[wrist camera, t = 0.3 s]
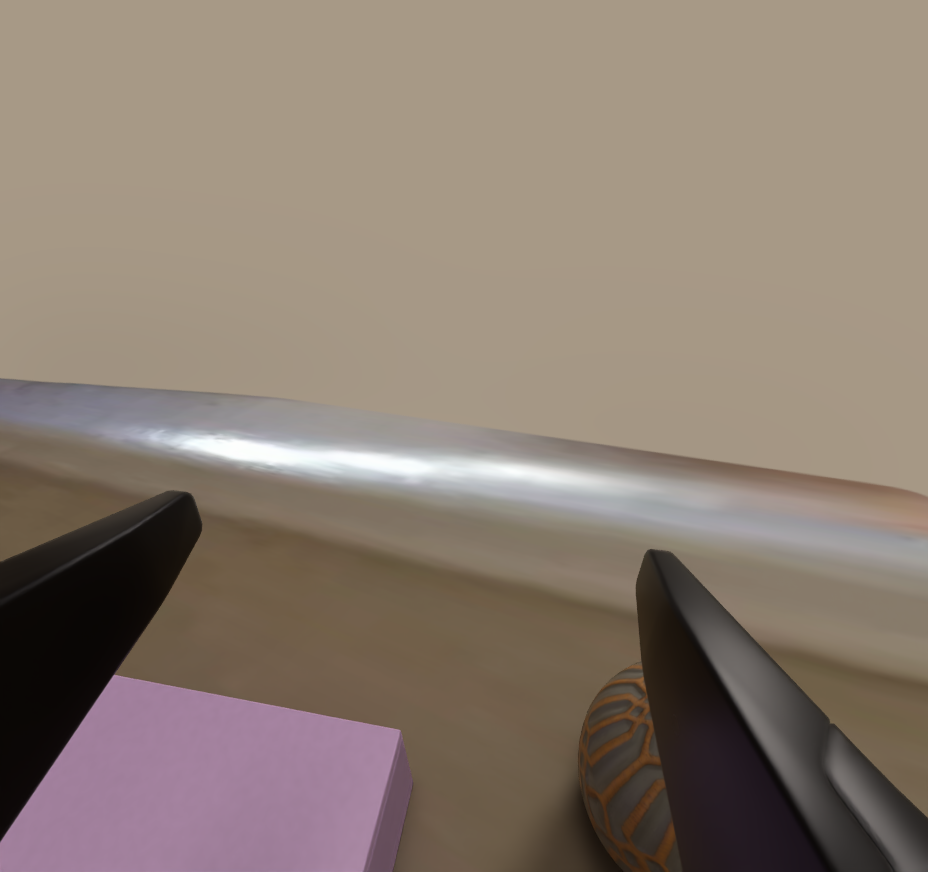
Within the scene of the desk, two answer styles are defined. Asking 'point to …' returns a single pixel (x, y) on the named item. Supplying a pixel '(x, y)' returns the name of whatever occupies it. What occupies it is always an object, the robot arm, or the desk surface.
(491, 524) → the desk surface
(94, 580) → the robot arm
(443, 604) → the desk surface
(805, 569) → the desk surface
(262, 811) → the door panel with handle
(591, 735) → the vase
